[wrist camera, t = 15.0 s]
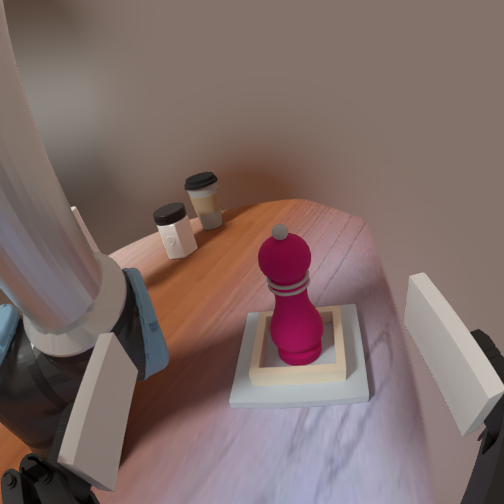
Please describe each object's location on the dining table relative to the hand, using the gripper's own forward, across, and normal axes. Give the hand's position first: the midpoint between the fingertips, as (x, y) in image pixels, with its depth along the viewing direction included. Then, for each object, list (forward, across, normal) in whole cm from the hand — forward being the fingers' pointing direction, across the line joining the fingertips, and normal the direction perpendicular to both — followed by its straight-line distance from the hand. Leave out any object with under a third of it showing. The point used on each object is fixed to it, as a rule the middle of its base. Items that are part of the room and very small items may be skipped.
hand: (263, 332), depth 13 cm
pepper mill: (+21, +3, -26) cm, 33 cm away
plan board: (+21, +3, -27) cm, 35 cm away
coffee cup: (+74, -13, -28) cm, 81 cm away
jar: (+62, -21, -28) cm, 72 cm away
